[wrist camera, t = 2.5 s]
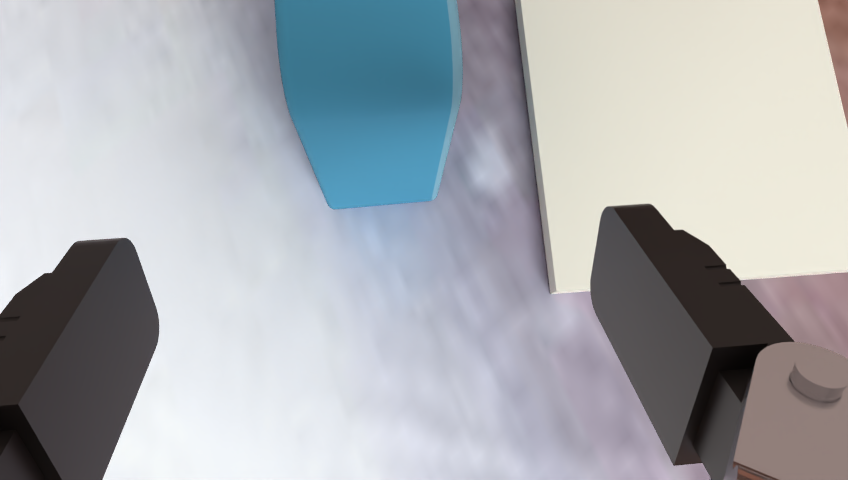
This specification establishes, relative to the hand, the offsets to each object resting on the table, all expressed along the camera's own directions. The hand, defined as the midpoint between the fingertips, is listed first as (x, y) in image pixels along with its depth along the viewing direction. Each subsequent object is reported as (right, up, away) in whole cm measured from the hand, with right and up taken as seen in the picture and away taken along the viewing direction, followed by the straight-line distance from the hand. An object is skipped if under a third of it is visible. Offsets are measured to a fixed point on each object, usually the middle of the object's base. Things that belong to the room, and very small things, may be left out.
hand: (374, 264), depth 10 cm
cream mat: (+12, +7, +17) cm, 23 cm away
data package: (-2, +7, +17) cm, 18 cm away
